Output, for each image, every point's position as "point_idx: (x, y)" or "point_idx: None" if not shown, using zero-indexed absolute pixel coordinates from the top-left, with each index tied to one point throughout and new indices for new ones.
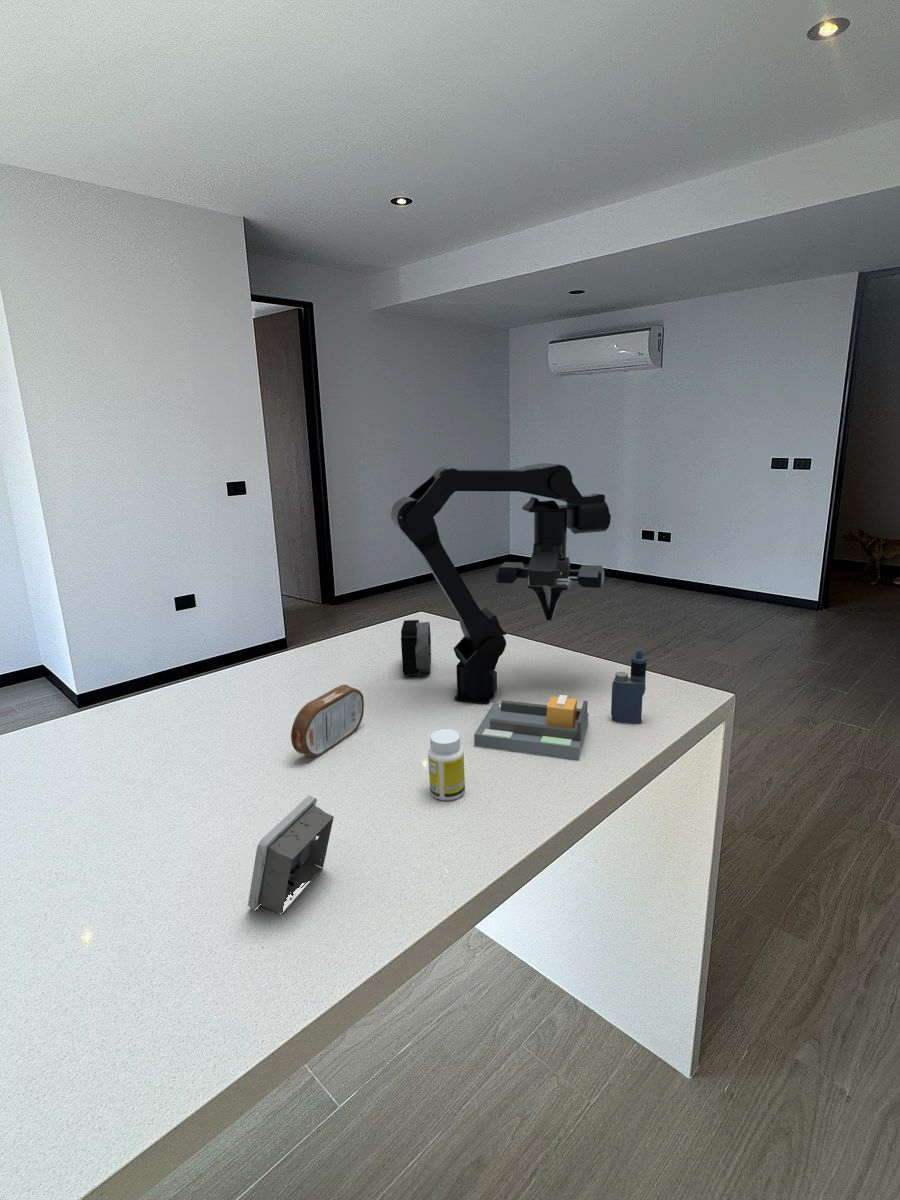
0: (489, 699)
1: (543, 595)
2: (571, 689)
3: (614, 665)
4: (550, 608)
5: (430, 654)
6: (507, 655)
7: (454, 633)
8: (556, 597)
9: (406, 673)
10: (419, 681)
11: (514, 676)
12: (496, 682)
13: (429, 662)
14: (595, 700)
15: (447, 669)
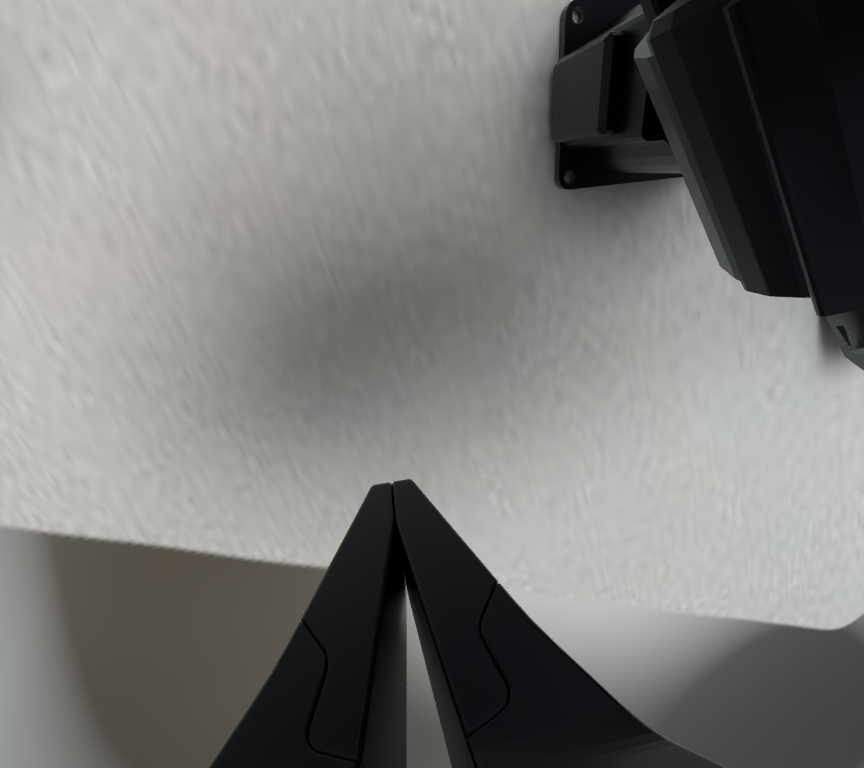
0: (566, 33)
1: (501, 725)
2: (279, 313)
3: (227, 550)
4: (374, 565)
5: (856, 348)
6: (577, 492)
7: (752, 565)
8: (253, 750)
9: None
10: None
11: (519, 347)
12: (572, 121)
13: (837, 320)
14: (140, 242)
15: (759, 316)
